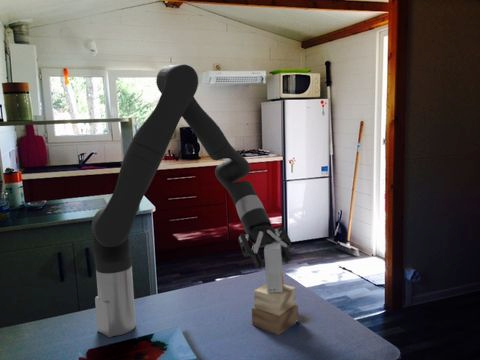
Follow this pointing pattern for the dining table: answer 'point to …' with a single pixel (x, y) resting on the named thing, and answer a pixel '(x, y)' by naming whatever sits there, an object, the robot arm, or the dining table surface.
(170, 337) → the dining table surface
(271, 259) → the skincare box
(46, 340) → the dining table surface
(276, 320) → the walnut block
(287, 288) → the beech block
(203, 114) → the robot arm
